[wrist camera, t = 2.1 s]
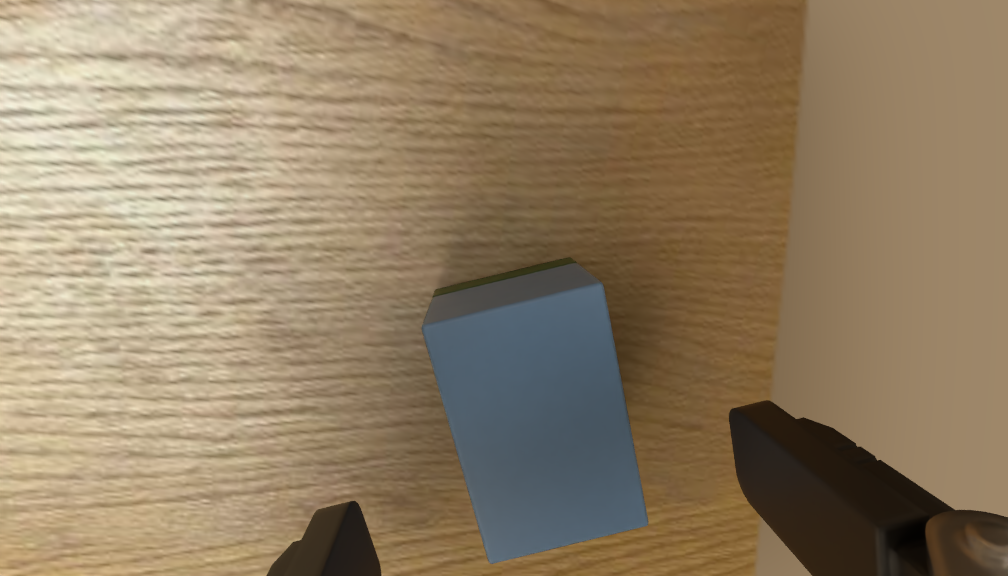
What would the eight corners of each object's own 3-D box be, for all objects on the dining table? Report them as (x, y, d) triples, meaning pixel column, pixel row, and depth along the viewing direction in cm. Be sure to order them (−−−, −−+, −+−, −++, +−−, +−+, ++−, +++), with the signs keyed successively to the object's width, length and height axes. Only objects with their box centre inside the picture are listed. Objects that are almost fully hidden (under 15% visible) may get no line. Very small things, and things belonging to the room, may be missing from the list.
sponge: (434, 289, 15) (419, 326, 11) (570, 256, 15) (603, 281, 11) (486, 476, 17) (489, 566, 13) (609, 446, 17) (650, 526, 13)
